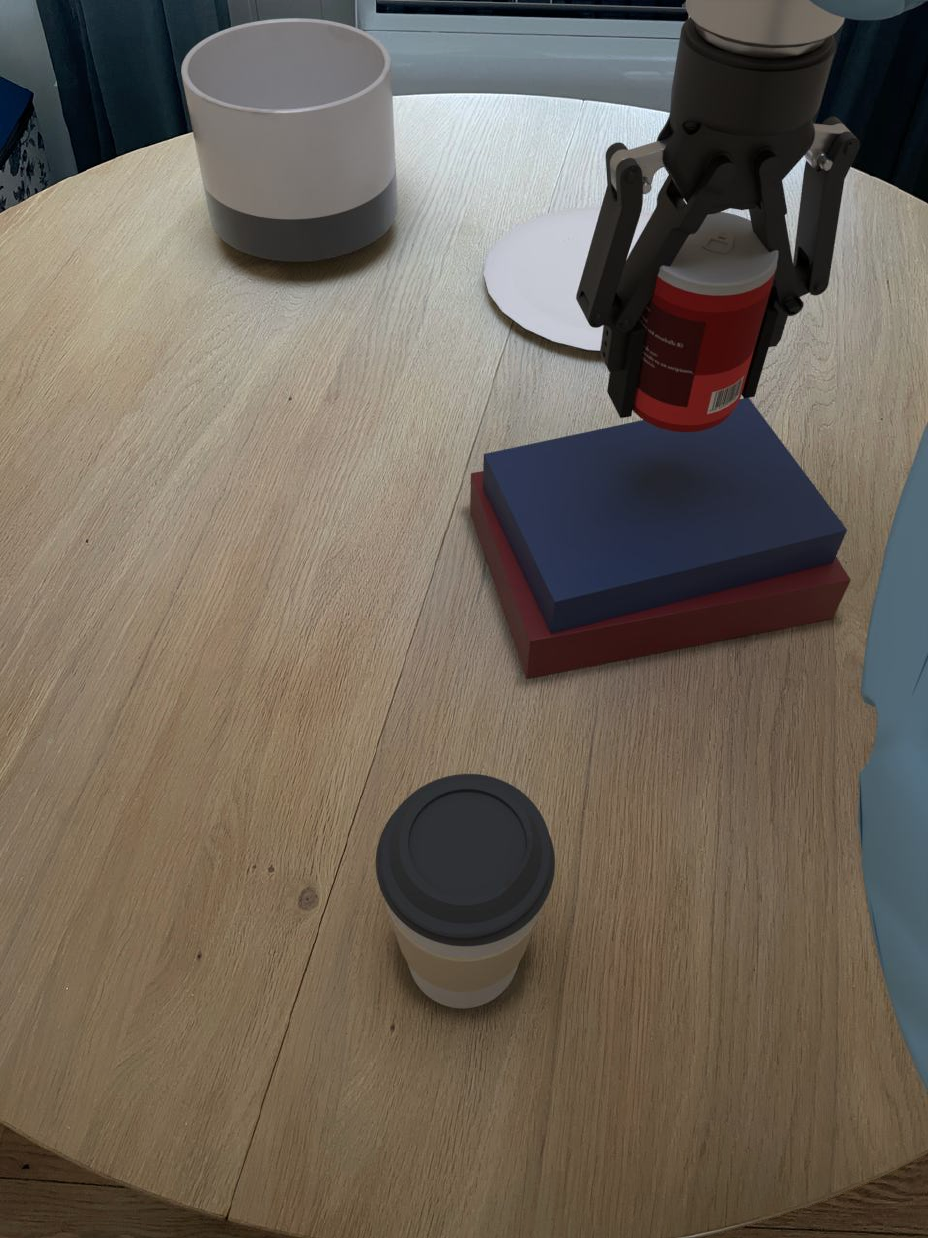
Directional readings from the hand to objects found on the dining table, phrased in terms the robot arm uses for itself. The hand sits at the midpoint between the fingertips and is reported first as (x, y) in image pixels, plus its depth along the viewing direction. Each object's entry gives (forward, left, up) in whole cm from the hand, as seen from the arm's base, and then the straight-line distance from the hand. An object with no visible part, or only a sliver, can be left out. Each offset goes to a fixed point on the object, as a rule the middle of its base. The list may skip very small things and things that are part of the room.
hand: (680, 393), depth 68 cm
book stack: (0, 0, -17) cm, 17 cm away
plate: (+36, -9, -17) cm, 41 cm away
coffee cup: (-27, +21, -17) cm, 38 cm away
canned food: (0, 0, 0) cm, 0 cm away
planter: (+52, +19, -17) cm, 58 cm away
